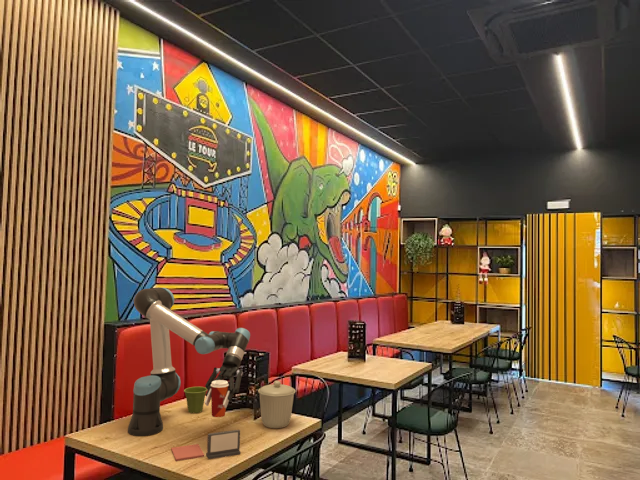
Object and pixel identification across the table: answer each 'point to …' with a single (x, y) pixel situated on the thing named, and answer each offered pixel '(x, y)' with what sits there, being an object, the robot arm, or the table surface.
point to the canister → (276, 404)
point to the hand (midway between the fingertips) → (215, 405)
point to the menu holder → (223, 444)
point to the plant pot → (195, 398)
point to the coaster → (187, 452)
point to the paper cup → (218, 397)
